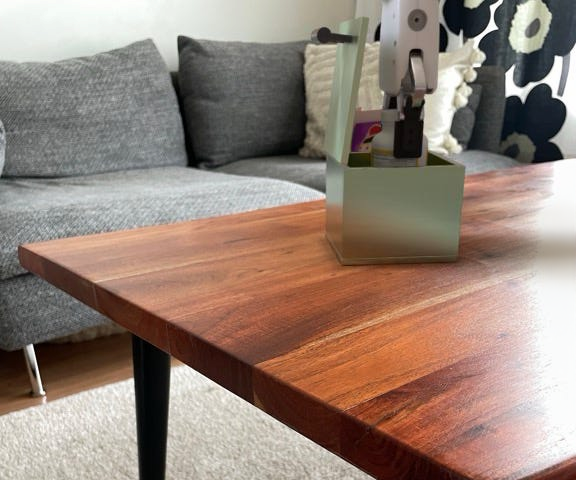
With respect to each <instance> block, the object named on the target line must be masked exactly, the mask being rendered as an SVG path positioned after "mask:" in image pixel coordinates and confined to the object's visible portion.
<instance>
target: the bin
mask: <svg viewBox="0 0 576 480" xmlns="http://www.w3.org/2000/svg"><path fill="white" fill-rule="evenodd" d="M325 156H326V158H325V223H324V224H325V229H324V230H325V232H324V233H325V234H324V235H325V239H326V240H327V243H328V244H329V245H330V247H331V249H332V250H333V252H334V254H335V256H336V258H337V260H338V261H339V263H340V265H341V266H364V265H365V266H366V265H395V264H400V265H401V264H431V263H457V262H458V255H459V245H460V234H461V222H462V221H461V220H462V213H463V203H464V202H463V201H464V190H465V179H466V168H467V166H466V165H464V164H462V163H460V162H458V161H455V160H453V159H451V158H449V157H448V156H445V155H442V154H440V153H438V152H436V151H433V150H432V149H431V150H430V149H428V155H427V166H400V167H371V151H370V152H349V158H348V164H347V165H346V164H340V163H339V162H338V161H337V160H336V159H335V158H334V157H333V156H332V155H331V154H329V153H328V152H327V151H326V154H325Z"/></svg>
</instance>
